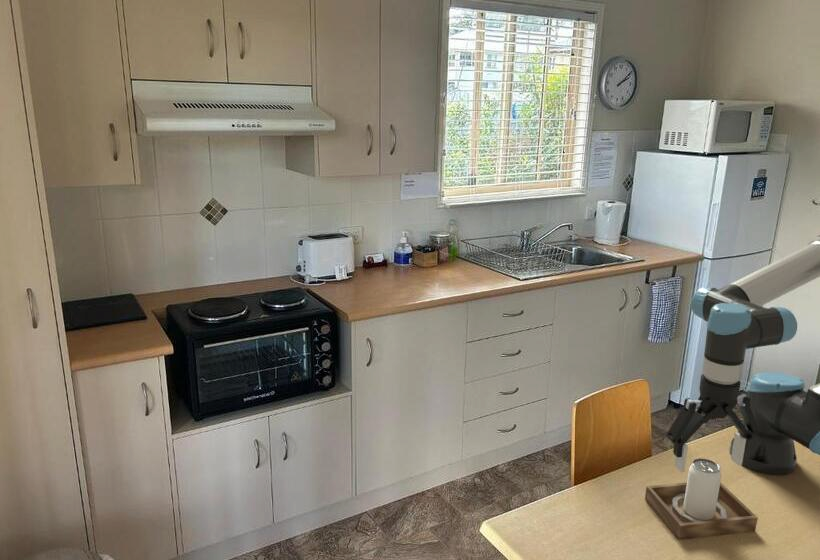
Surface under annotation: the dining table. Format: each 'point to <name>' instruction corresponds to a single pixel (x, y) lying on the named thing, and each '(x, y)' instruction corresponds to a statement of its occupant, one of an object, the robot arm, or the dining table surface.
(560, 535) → the dining table surface
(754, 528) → the walled box
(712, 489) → the can
